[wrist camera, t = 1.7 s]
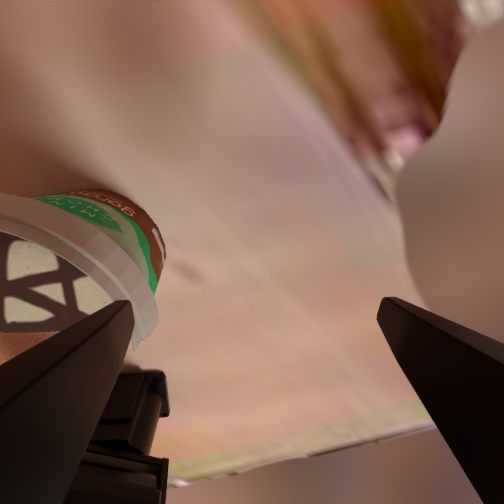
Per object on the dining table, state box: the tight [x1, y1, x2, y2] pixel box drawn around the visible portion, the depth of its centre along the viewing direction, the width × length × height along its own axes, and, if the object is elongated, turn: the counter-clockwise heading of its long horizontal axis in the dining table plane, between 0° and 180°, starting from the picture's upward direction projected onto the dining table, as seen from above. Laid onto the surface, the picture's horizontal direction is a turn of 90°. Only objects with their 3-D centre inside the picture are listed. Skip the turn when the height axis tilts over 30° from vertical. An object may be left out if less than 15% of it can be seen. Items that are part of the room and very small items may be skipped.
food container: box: [0, 189, 166, 351], centre depth 14 cm, size 12×6×10 cm, turn 81°
